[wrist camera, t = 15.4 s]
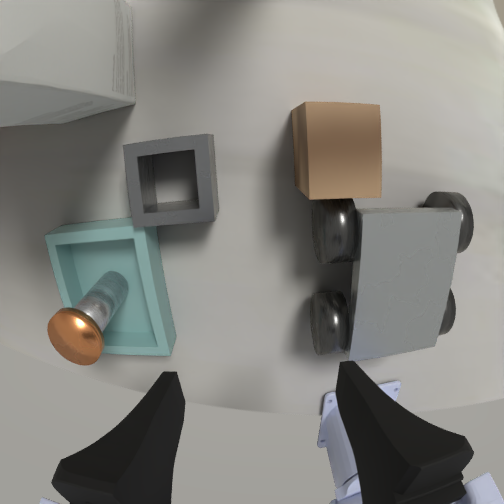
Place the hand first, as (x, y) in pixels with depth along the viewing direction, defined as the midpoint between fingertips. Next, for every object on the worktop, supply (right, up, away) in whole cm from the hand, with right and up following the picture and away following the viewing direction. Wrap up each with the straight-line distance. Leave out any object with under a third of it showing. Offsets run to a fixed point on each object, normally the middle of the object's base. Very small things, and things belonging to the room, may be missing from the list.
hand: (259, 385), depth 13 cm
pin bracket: (-5, +11, +7) cm, 14 cm away
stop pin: (-11, +3, +9) cm, 14 cm away
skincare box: (-11, +19, +4) cm, 22 cm away
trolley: (+9, +5, +9) cm, 14 cm away
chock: (+4, +13, +7) cm, 15 cm away
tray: (-11, +3, +10) cm, 15 cm away
